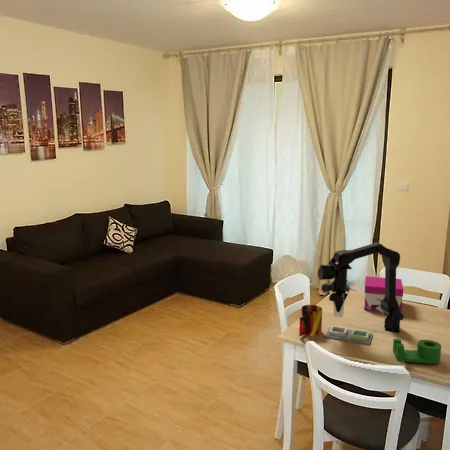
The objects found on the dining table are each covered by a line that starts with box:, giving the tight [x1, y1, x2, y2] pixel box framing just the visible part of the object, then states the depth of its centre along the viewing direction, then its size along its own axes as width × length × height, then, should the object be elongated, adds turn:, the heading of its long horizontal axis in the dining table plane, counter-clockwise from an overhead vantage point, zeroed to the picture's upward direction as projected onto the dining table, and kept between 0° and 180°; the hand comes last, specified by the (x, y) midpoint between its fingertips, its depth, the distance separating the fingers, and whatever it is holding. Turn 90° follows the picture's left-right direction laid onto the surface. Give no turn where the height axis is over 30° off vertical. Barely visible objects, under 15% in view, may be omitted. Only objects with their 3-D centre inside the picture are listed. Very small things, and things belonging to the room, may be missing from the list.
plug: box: [332, 298, 345, 318], centre depth 213 cm, size 5×4×8 cm
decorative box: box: [363, 275, 404, 314], centre depth 248 cm, size 19×19×15 cm
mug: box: [298, 304, 323, 337], centre depth 215 cm, size 10×14×12 cm
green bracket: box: [392, 338, 442, 365], centre depth 191 cm, size 18×9×6 cm, turn 81°
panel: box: [324, 325, 374, 346], centre depth 213 cm, size 20×12×2 cm, turn 66°
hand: (338, 310), depth 213 cm, fingers closed on plug, 4 cm apart
